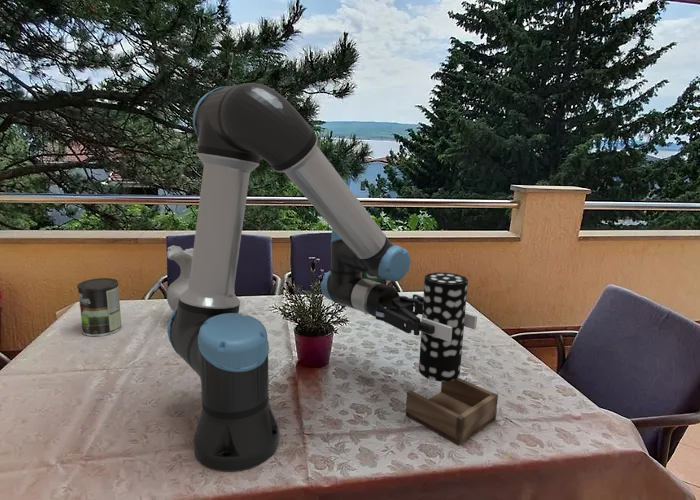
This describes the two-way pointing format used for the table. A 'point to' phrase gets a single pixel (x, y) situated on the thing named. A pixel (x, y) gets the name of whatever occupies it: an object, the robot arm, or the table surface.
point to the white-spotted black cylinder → (449, 309)
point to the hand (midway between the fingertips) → (463, 328)
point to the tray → (454, 410)
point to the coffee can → (99, 306)
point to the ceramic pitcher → (182, 282)
